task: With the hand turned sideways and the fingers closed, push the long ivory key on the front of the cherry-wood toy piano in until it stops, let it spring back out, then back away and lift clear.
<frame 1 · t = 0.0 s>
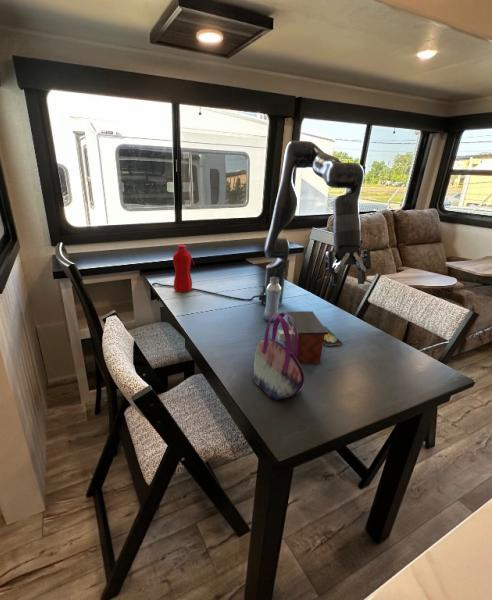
hand: (348, 284, 94), 31 cm above the table, tool tilted 20°, fingers open, 8 cm apart
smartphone: (325, 336, 128), on the table
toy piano: (300, 351, 117), on the table
water bottle: (184, 290, 172), on the table
piano key: (286, 335, 114), point 7 cm above the table, slide at -0.1 cm
handbag: (275, 386, 99), on the table
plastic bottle: (270, 319, 141), on the table
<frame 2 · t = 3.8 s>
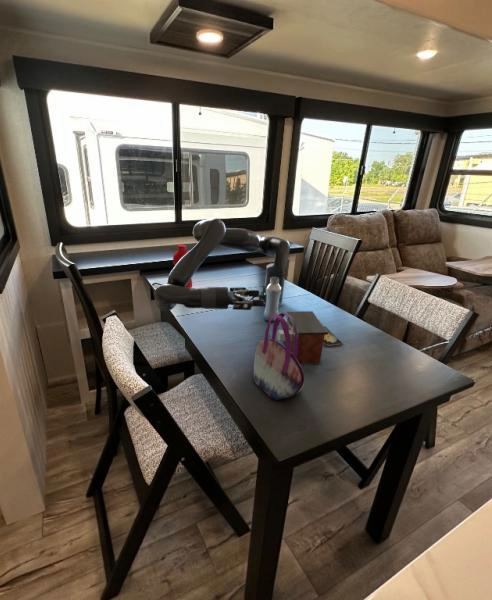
hand: (261, 298, 107), 22 cm above the table, tool horizontal, fingers open, 8 cm apart
nothing on the table moved.
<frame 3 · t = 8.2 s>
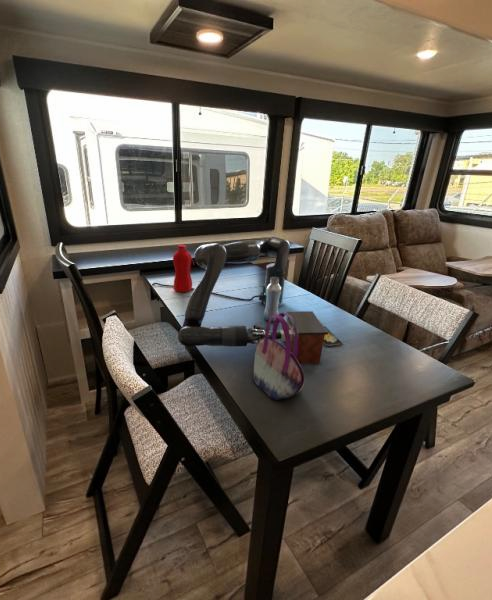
hand: (280, 335, 114), 7 cm above the table, tool horizontal, fingers closed
piano key: (287, 335, 114), point 7 cm above the table, slide at 0.6 cm, touching gripper
everything else where it was.
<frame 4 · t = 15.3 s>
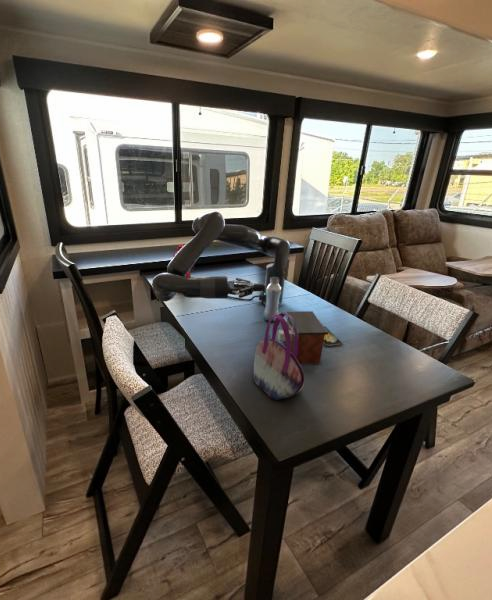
hand: (264, 287, 106), 26 cm above the table, tool horizontal, fingers closed
piano key: (286, 335, 114), point 7 cm above the table, slide at -0.1 cm
everything else where it was.
at the end: piano key pulled out 1.5 cm at the most during the clip, back to where it started at the end; piano key slide at -0.1 cm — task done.
